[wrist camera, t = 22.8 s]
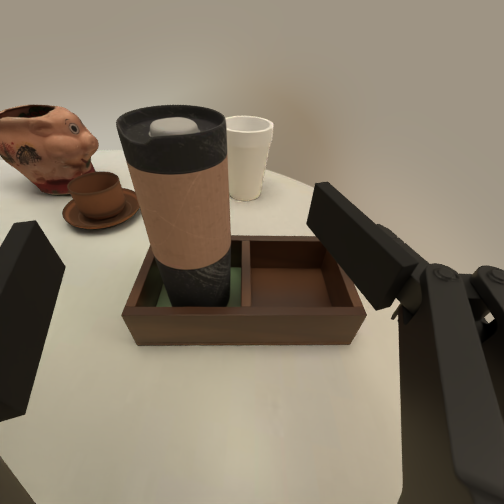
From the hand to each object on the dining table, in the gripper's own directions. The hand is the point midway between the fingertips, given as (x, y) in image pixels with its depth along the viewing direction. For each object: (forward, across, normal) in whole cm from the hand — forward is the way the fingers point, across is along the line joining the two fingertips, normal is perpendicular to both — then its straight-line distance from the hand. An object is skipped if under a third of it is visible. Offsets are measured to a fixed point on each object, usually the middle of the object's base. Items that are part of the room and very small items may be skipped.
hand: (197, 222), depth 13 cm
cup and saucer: (+32, -12, -19) cm, 39 cm away
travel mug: (+9, 0, -18) cm, 20 cm away
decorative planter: (+46, -22, -19) cm, 54 cm away
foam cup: (+34, +13, -19) cm, 41 cm away
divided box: (+8, +5, -18) cm, 21 cm away
